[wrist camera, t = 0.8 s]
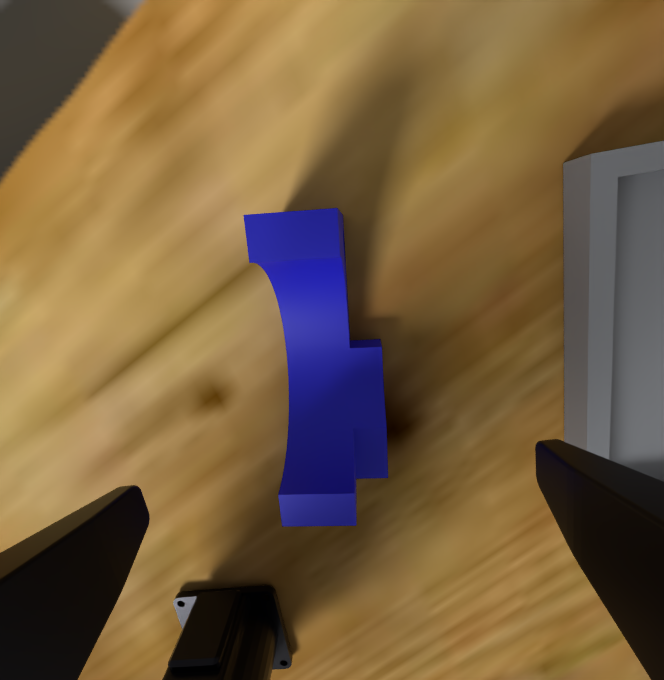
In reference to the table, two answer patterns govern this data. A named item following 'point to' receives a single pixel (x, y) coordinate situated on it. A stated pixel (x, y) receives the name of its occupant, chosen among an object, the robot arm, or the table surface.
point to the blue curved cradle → (321, 368)
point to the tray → (615, 305)
